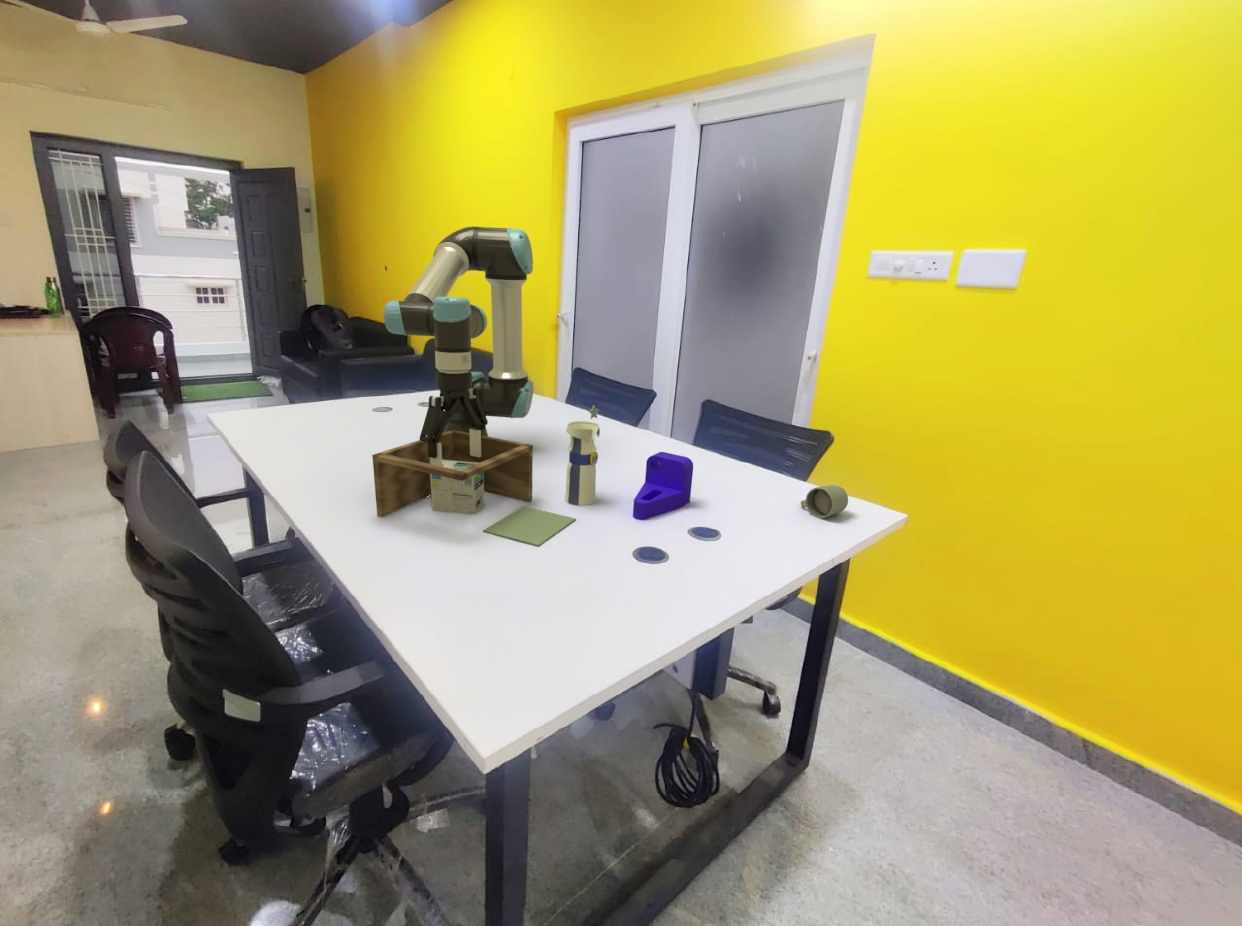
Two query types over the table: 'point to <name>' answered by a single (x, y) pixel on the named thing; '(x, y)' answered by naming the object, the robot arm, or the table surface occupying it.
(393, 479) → the open wooden box frame
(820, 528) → the table surface
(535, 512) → the mat
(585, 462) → the belted robe figure
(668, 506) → the bracket
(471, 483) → the light bulb box
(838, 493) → the ceramic mug
